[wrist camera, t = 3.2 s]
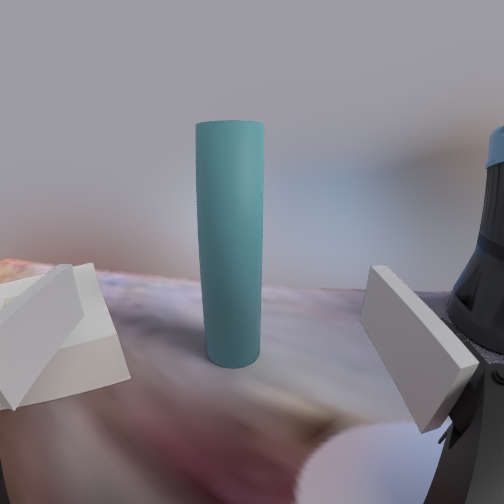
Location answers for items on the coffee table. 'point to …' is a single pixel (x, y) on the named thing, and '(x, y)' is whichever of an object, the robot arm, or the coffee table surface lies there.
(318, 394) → the coffee table surface
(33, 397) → the socket block
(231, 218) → the peg
